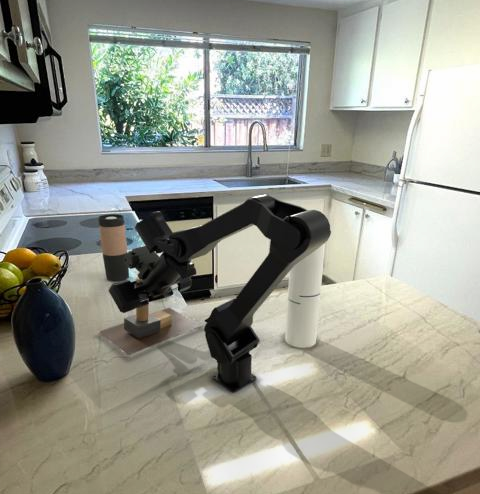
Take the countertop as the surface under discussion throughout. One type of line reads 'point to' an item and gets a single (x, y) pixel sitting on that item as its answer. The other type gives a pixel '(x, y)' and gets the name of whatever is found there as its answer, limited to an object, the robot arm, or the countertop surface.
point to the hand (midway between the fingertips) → (138, 303)
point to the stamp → (142, 321)
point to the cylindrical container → (304, 300)
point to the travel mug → (114, 246)
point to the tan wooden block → (163, 318)
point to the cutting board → (134, 344)
